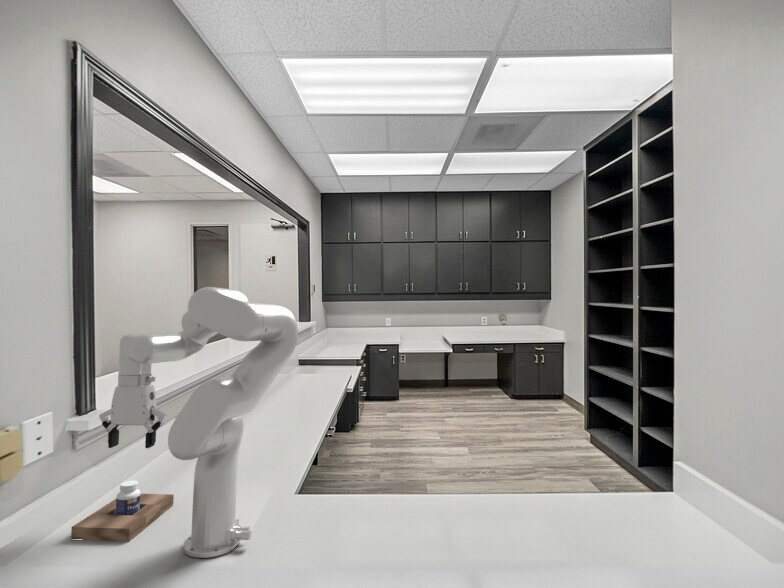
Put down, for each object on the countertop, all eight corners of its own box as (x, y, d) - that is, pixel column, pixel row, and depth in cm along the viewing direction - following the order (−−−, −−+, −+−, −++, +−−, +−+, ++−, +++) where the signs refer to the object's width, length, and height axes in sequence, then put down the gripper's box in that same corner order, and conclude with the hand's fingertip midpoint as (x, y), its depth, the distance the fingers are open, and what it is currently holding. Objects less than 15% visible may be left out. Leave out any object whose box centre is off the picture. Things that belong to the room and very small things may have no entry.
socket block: (173, 505, 122) (173, 494, 122) (129, 541, 102) (129, 528, 102) (124, 503, 122) (124, 493, 122) (70, 539, 102) (71, 526, 102)
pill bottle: (127, 527, 109) (129, 488, 109) (109, 525, 110) (111, 486, 110) (143, 518, 114) (145, 480, 115) (126, 515, 115) (128, 478, 116)
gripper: (174, 379, 118) (171, 443, 117) (111, 378, 118) (108, 442, 117) (159, 383, 110) (156, 451, 109) (92, 382, 111) (88, 450, 109)
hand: (131, 446), depth 113 cm, fingers open, 9 cm apart
